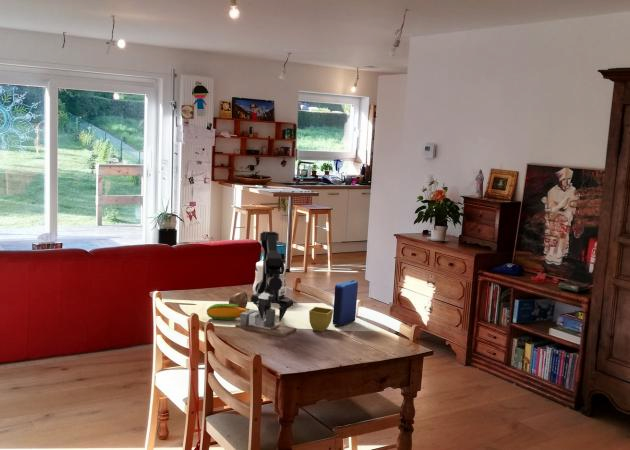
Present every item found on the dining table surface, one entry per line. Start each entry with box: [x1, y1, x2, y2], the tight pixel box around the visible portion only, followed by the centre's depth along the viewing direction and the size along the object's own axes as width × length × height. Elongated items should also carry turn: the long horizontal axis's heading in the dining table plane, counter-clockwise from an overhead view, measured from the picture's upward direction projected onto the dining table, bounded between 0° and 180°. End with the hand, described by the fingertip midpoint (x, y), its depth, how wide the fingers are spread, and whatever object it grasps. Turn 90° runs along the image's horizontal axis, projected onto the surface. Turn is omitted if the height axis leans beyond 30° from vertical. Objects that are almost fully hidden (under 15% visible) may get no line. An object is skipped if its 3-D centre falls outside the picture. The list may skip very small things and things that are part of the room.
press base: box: [234, 308, 297, 338], centre depth 303 cm, size 12×24×6 cm, turn 63°
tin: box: [228, 291, 249, 309], centre depth 329 cm, size 15×3×8 cm, turn 158°
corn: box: [206, 303, 248, 321], centre depth 314 cm, size 7×8×20 cm
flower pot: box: [308, 306, 334, 332], centre depth 306 cm, size 9×9×9 cm
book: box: [332, 279, 359, 327], centre depth 316 cm, size 14×5×20 cm, turn 145°
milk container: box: [252, 260, 287, 300], centre depth 356 cm, size 17×17×18 cm
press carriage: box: [249, 308, 281, 330], centre depth 303 cm, size 8×11×8 cm
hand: (270, 319), depth 302 cm, fingers open, 9 cm apart
